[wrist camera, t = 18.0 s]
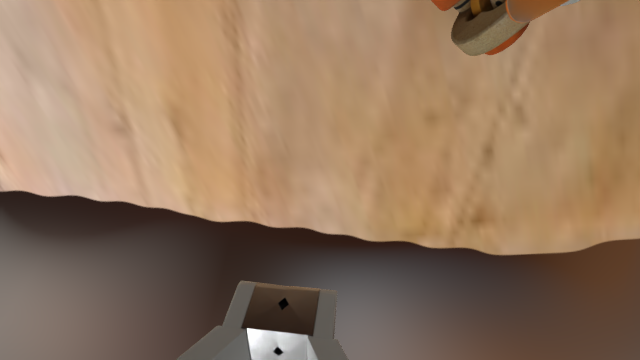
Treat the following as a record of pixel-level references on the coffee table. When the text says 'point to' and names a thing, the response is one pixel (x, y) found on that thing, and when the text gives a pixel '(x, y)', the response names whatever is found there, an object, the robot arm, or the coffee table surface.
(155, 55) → the coffee table surface
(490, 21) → the toy helicopter
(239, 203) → the coffee table surface
